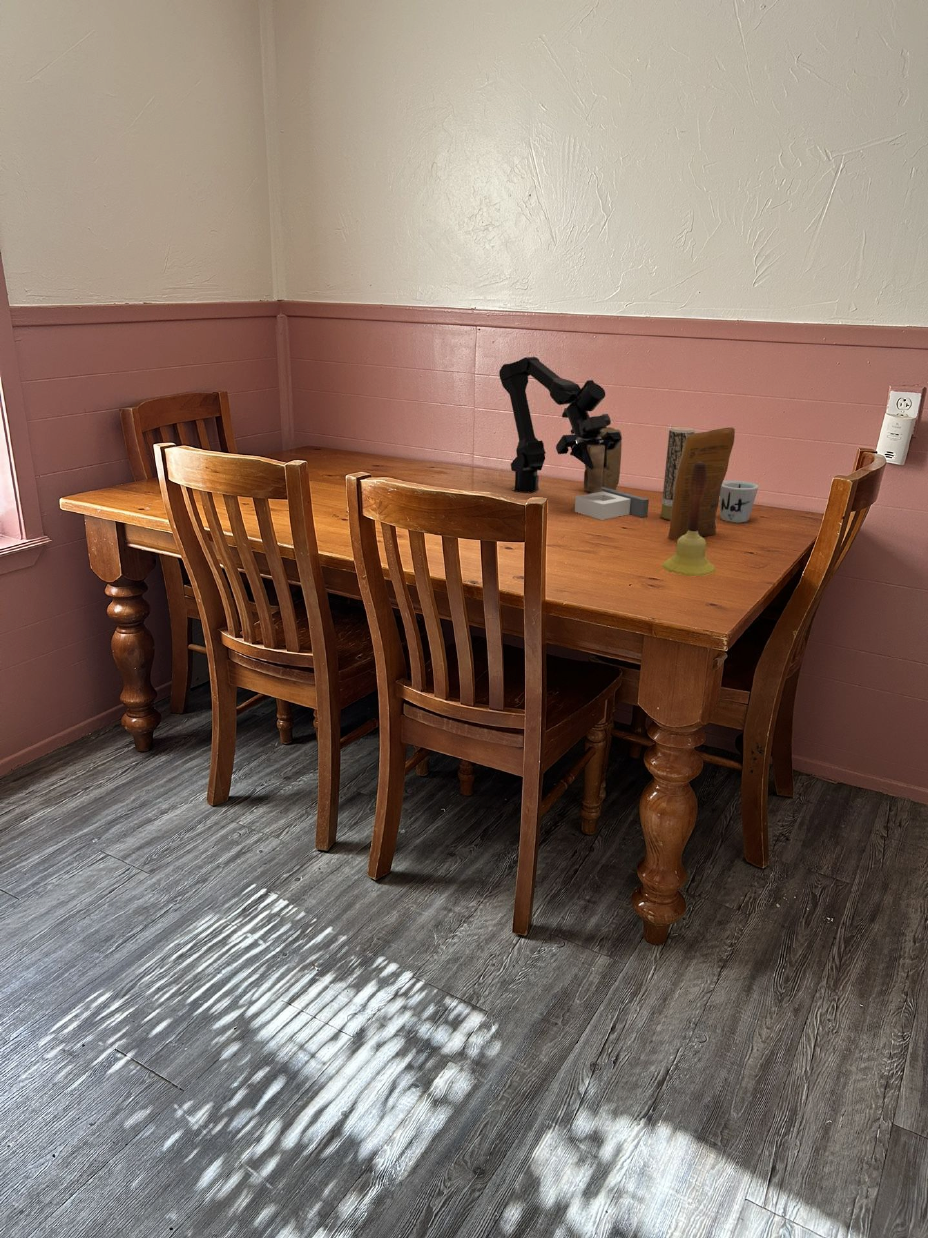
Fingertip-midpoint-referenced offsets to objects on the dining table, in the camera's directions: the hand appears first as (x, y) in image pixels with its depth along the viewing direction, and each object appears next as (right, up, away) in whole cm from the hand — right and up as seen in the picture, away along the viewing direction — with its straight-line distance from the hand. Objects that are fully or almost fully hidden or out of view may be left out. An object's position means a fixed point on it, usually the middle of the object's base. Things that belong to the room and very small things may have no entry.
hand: (598, 467), depth 244 cm
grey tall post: (+21, -14, +4) cm, 26 cm away
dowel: (-1, -6, +4) cm, 7 cm away
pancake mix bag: (+23, -20, -13) cm, 33 cm away
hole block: (+2, -12, +8) cm, 14 cm away
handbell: (+15, -30, -38) cm, 51 cm away
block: (+5, -3, +31) cm, 31 cm away
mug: (+40, -14, +5) cm, 42 cm away
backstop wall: (+8, -10, +11) cm, 17 cm away
